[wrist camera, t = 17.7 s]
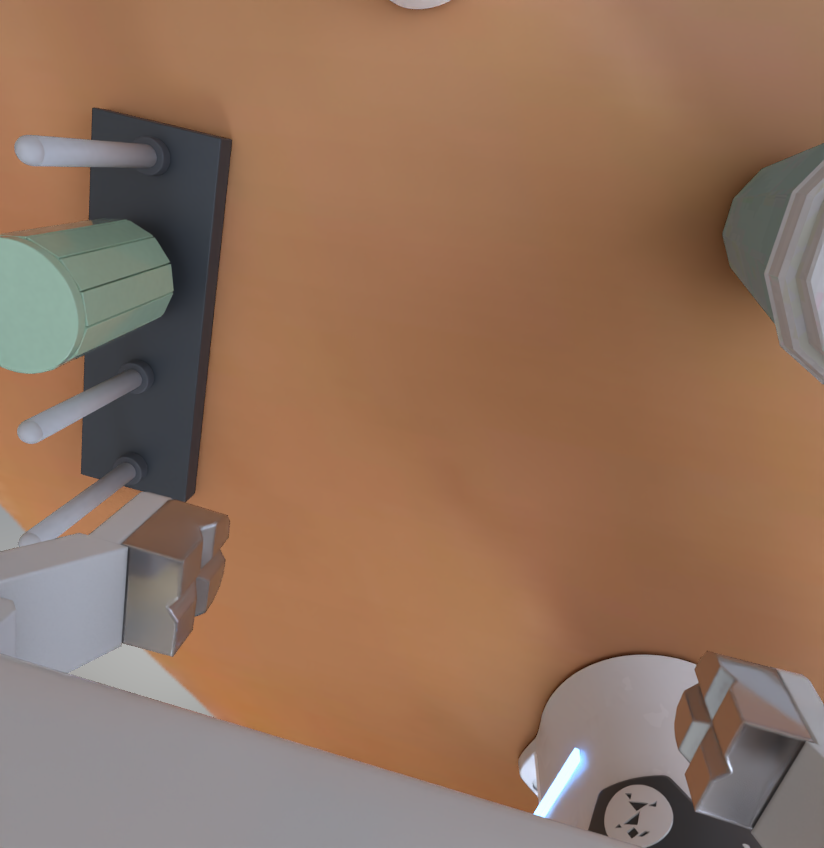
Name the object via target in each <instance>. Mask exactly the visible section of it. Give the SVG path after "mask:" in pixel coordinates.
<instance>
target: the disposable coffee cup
mask: <svg viewBox="0 0 824 848" xmlns="http://www.w3.org/2000/svg"><path fill="white" fill-rule="evenodd" d="M722 235H723V239H724V244H725V248H726V252H727V256H728V261H729V265H730V268H731V269H732V270H733V271H734V273H735V274H736V275H737V277H738V278H739V279H740V280H741V282H742V283H743V284H744V285H745V287H746V288H747V289H748V291H749V292H750V293H751V294H752V296H753V297H754V298H755V299H756V301H757V302H758V303H759V305H760V306H761V307H762V308H763V310H764V311H765V312H766V313H767V315H768V316H769V317H770V319H771V320H772V321H773V322H774V324H775V326H776V330H777V335H778V339H779V344H780V346H781V347H782V348H783V349H784V350H785V351H786V352H787V353H788V354H790V355H791V356H792V357H793V358H794V359H795V360H796V361H797V362H799V363H800V364H801V365H802V366H803V367H804V368H805V369H806V370H807V371H809V372H810V373H811V374H812V375H813V376H814V377H815V378H816V379H817V380H819V381H820V382H821V383H822V384H824V143H823V144H820V145H818V146H816V147H813V148H811V149H808V150H806V151H804V152H801V153H799V154H796V155H794V156H791V157H789V158H787V159H784V160H782V161H779V162H777V163H775V164H772V165H770V166H767V167H765V168H762V169H761V170H760V171H759V172H758V173H757V174H756V175H755V176H754V177H753V178H752V180H751V181H750V182H749V183H748V184H747V185H746V186H745V187H744V188H743V189H742V190H741V191H740V192H739V193H738V194H737V195H736V196H735V197H734V198H733V201H732V205H731V208H730V211H729V214H728V217H727V221H726V224H725V227H724V230H723V233H722Z"/></svg>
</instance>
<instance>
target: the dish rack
mask: <svg viewBox="0 0 824 848" xmlns="http://www.w3.org/2000/svg"><path fill="white" fill-rule="evenodd" d="M231 144H232V140H231V139H228V138H223V137H219V136H215V135H211V134H207V133H203V132H198V131H194V130H190V129H186V128H182V127H178V126H173V125H169V124H165V123H161V122H157V121H153V120H148V119H144V118H140V117H136V116H132V115H128V114H123V113H119V112H115V111H111V110H106V109H100V108H92V135H91V140H86V139H74V138H61V137H49V136H36V135H24V136H21V137H20V138H18V139H17V141H16V142H15V147H14V148H15V153H16V155H17V157H18V158H19V159H20V160H21V161H22V162H23V163H25V164H27V165H30V166H58V167H90V200H89V220H93V219H100V218H107V219H126V220H128V221H131V222H133V223H134V224H136V225H137V226H139V227H141V228H142V229H144V230H145V231H147V232H148V233H150V234H151V235H153V238H154V237H155V238H156V240H157V241H158V243H159V245H160V246H161V248H162V249H163V251H164V253H165V254H166V256H167V258H168V259H169V261H170V263H169V264H171V269H172V279H173V289H174V291H173V295H172V297H171V299H170V301H169V304H168V306H167V308H166V310H165V312H164V314H163V315H162V317H160V318H158V319H156V320H155V321H153V322H151V323H149V324H148V325H146V326H144V327H142V328H140V329H138V330H136V331H134V332H132V333H130V334H127V335H125V336H123V337H121V338H119V339H117V340H115V341H113V342H111V343H108V344H106V345H104V346H102V347H100V348H98V349H96V350H94V351H92V352H89V353H87V354H85V362H84V392H82V393H80V394H78V395H76V396H74V397H72V398H70V399H68V400H66V401H64V402H62V403H59V404H57V405H55V406H53V407H51V408H49V409H47V410H45V411H43V412H41V413H39V414H37V415H35V416H33V417H31V418H29V419H27V420H25V421H23V422H22V423H21V424H20V425H19V426H18V429H17V433H18V436H19V438H20V439H21V440H22V441H23V442H25V443H29V444H34V443H37V442H39V441H41V440H43V439H45V438H47V437H48V436H50V435H52V434H54V433H56V432H58V431H59V430H61V429H63V428H65V427H67V426H68V425H70V424H72V423H74V422H76V421H78V420H79V419H81V418H83V426H82V459H81V474H83V475H86V476H90V477H93V478H97V479H99V480H98V481H97V482H95V483H94V484H92V485H91V486H90V487H88V488H87V489H85V490H84V491H83V492H81V493H80V494H78V495H77V496H76V497H74V498H73V499H72V500H70V501H69V502H67V503H66V504H65V505H63V506H62V507H60V508H59V509H58V510H56V511H55V512H53V513H52V514H51V515H49V516H48V517H46V518H45V519H44V520H42V521H41V522H40V523H38V524H37V525H35V526H34V527H33V528H31V529H30V530H28V531H27V532H26V533H24V534H23V535H22V536H21V537H20V539H19V542H18V545H19V547H22V546H26V545H30V544H34V543H39V542H43V541H47V540H51V539H56V538H57V537H58V536H60V535H61V534H62V533H63V532H65V531H66V530H67V529H69V528H70V527H71V526H72V525H74V524H75V523H76V522H78V521H79V520H80V519H81V518H83V517H84V516H85V515H87V514H88V513H89V512H90V511H92V510H93V509H94V508H96V507H97V506H98V505H99V504H101V503H102V502H103V501H105V500H106V499H107V498H108V497H110V496H111V495H112V494H114V493H115V492H116V491H117V490H119V489H120V488H121V487H123V486H125V487H129V488H133V489H136V490H140V491H143V492H151V493H155V494H158V495H162V496H166V497H169V498H172V499H176V500H179V501H182V502H186V501H187V500H188V499H189V498H190V497H191V496H193V495H194V493H195V485H196V476H197V466H198V457H199V447H200V438H201V428H202V419H203V409H204V400H205V390H206V381H207V371H208V362H209V353H210V343H211V334H212V324H213V315H214V305H215V296H216V286H217V277H218V267H219V258H220V248H221V239H222V229H223V220H224V210H225V201H226V191H227V182H228V172H229V163H230V153H231Z"/></svg>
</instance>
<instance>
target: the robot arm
mask: <svg viewBox="0 0 824 848" xmlns="http://www.w3.org/2000/svg"><path fill="white" fill-rule="evenodd" d="M229 528H230V520H229V517H228V515H225V514H222V513H219V512H215V511H212V510H209V509H205V508H202V507H199V506H195V505H192V504H189V503H186V502H182V501H179V500H176V499H172V498H169V497H166V496H162V495H158V494H155V493H151V492H140V493H139V494H138V495H136V496H135V497H134V498H133V499H131V500H130V501H129V502H128V503H127V504H125V505H124V506H123V507H122V508H121V509H119V510H118V511H117V512H116V513H114V514H113V515H112V516H111V517H110V518H108V519H107V520H106V521H105V522H103V523H102V524H101V525H100V526H99V527H97V528H96V529H95V530H94V531H93V532H91V533H90V534H89V535H85V534H81V533H77V534H73V535H68V536H64V537H60V538H56V539H51V540H47V541H43V542H39V543H34V544H30V545H26V546H22V547H17V548H13V549H9V550H5V551H0V848H824V704H823V703H822V701H821V699H820V697H819V696H818V694H817V692H816V690H815V689H814V687H813V685H812V683H811V682H810V680H808V679H807V678H806V677H805V676H803V675H802V674H798V673H794V672H790V671H786V670H782V669H778V668H773V667H768V666H764V665H760V664H756V663H752V662H748V661H745V660H741V659H737V658H733V657H729V656H725V655H722V654H718V653H714V652H710V651H707V652H706V653H705V654H704V655H703V656H702V657H701V658H700V660H699V662H698V663H697V665H696V664H693V663H691V662H688V661H684V660H681V659H677V658H672V657H667V656H660V655H627V656H620V657H615V658H610V659H607V660H603V661H600V662H597V663H595V664H592V665H590V666H588V667H586V668H583V669H582V670H580V671H578V672H576V673H575V674H573V675H572V676H571V677H569V678H568V679H567V680H565V681H564V682H563V683H562V684H561V685H560V686H559V687H558V688H557V689H556V690H555V692H554V693H553V694H552V696H551V697H550V699H549V700H548V702H547V704H546V706H545V708H544V711H543V714H542V717H541V722H540V726H539V730H538V733H537V736H536V738H535V739H534V740H533V741H532V742H531V743H530V744H529V745H528V747H527V748H526V749H525V750H524V751H523V753H522V754H521V756H520V757H519V760H518V765H519V773H520V776H521V778H522V780H523V781H524V782H525V783H526V784H527V786H528V787H529V788H530V789H531V790H532V791H533V792H534V793H535V795H536V796H537V797H538V801H539V806H538V807H537V809H536V811H535V812H534V814H532V813H528V812H525V811H522V810H519V809H515V808H512V807H509V806H505V805H502V804H499V803H495V802H492V801H489V800H485V799H482V798H479V797H476V796H472V795H469V794H466V793H462V792H459V791H456V790H452V789H449V788H446V787H442V786H439V785H436V784H432V783H429V782H426V781H423V780H419V779H416V778H413V777H409V776H406V775H403V774H399V773H396V772H393V771H389V770H386V769H383V768H380V767H376V766H373V765H370V764H366V763H363V762H360V761H356V760H353V759H350V758H346V757H343V756H340V755H336V754H333V753H330V752H327V751H323V750H320V749H317V748H313V747H310V746H307V745H303V744H300V743H297V742H293V741H290V740H287V739H283V738H280V737H277V736H274V735H270V734H267V733H264V732H260V731H257V730H254V729H250V728H247V727H244V726H240V725H237V724H234V723H231V722H227V721H224V720H221V719H217V718H214V717H211V716H207V715H204V714H201V713H197V712H194V711H191V710H187V709H184V708H181V707H177V706H174V705H171V704H168V703H164V702H161V701H158V700H154V699H151V698H148V697H144V696H141V695H138V694H135V693H131V692H128V691H125V690H121V689H117V688H115V687H111V686H108V685H105V684H101V683H98V682H95V681H91V680H88V679H85V678H82V677H78V676H75V675H72V674H68V673H69V672H71V671H73V670H75V669H77V668H79V667H80V666H83V665H85V664H87V663H89V662H90V661H92V660H95V659H97V658H98V657H100V656H102V655H104V654H106V653H108V652H110V651H112V650H114V649H116V648H118V647H120V646H121V645H122V643H124V644H127V645H131V646H135V647H138V648H142V649H146V650H150V651H153V652H157V653H161V654H165V655H168V656H172V657H173V656H174V655H175V653H176V652H177V651H178V649H179V648H180V647H181V645H182V644H183V643H184V641H185V640H186V638H187V637H188V636H189V634H190V633H191V632H192V630H193V625H194V617H196V616H198V615H201V614H203V613H205V612H206V611H207V609H208V608H209V607H210V605H211V604H212V602H213V600H214V598H215V596H216V594H217V592H218V589H219V587H220V584H221V581H222V577H223V573H224V567H225V561H226V560H225V558H224V556H223V554H222V552H221V550H220V548H221V547H222V546H223V544H224V543H225V542H226V540H227V539H228V538H229Z"/></svg>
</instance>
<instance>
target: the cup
mask: <svg viewBox="0 0 824 848" xmlns="http://www.w3.org/2000/svg"><path fill="white" fill-rule="evenodd" d="M169 263H170V261H169V259H168V258H167V256H166V254H165V253H164V251H163V249H162V248H161V246H160V245H159V243H158V241H157V240H156V238H155V237H154V238H153V235H151V234H150V233H148V232H147V231H145V230H144V229H142V228H141V227H139V226H137V225H136V224H134V223H133V222H131V221H128V220H126V219H107V218H100V219H93V220H87V221H80V222H74V223H67V224H61V225H54V226H48V227H41V228H35V229H28V230H22V231H15V232H9V233H2V234H0V367H3V368H5V369H8V370H11V371H14V372H19V373H26V374H35V373H42V372H46V371H50V370H54V369H56V368H58V367H60V366H62V365H64V364H66V363H68V362H70V361H73V360H75V359H77V358H79V357H81V356H83V355H85V354H87V353H89V352H92V351H94V350H96V349H98V348H100V347H102V346H104V345H106V344H108V343H111V342H113V341H115V340H117V339H119V338H121V337H123V336H125V335H127V334H130V333H132V332H134V331H136V330H138V329H140V328H142V327H144V326H146V325H148V324H149V323H151V322H153V321H155V320H156V319H158V318H160V317H162V315H163V314H164V312H165V310H166V308H167V306H168V304H169V301H170V299H171V297H172V295H173V291H174V289H173V279H172V269H171V264H169Z"/></svg>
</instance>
